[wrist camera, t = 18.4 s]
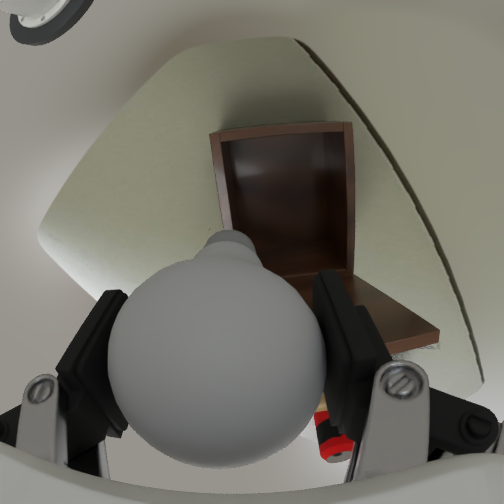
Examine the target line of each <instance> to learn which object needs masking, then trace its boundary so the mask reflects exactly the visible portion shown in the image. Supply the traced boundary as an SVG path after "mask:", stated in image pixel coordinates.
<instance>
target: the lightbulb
mask: <svg viewBox="0 0 504 504" xmlns="http://www.w3.org/2000/svg"><path fill="white" fill-rule="evenodd" d="M108 376H109V380H110V384H111V388H112V391H113V394H114V397H115V400H116V403H117V404H118V406H119V408H120V410H121V412H122V413H123V415H124V417H125V418H126V420H127V422H128V423H129V425H130V426H131V427H132V428H133V429H134V430H135V431H136V433H137V434H138V435H140V436H141V437H142V438H143V439H144V440H145V441H146V442H147V443H148V444H150V445H151V446H152V447H154V448H155V449H157V450H158V451H160V452H162V453H164V454H165V455H167V456H169V457H171V458H173V459H175V460H178V461H180V462H183V463H186V464H189V465H192V466H197V467H202V468H211V469H227V468H235V467H240V466H244V465H248V464H252V463H256V462H258V461H261V460H264V459H266V458H268V457H269V456H271V455H273V454H275V453H277V452H278V451H280V450H282V449H283V448H285V447H287V446H288V445H289V444H290V443H291V442H292V441H293V440H294V439H295V438H296V437H297V436H298V435H299V434H300V433H301V432H302V431H303V430H304V429H305V427H306V426H307V424H308V423H309V421H310V420H311V418H312V416H313V414H314V413H315V411H316V409H317V407H318V406H319V404H320V401H321V397H322V393H323V389H324V385H325V380H326V376H327V357H326V345H325V341H324V338H323V335H322V331H321V329H320V326H319V324H318V321H317V319H316V316H315V315H314V313H313V312H312V311H311V309H310V308H309V307H308V305H307V304H306V303H305V301H304V300H303V299H302V297H301V296H300V295H299V293H298V292H297V291H296V289H294V288H293V287H292V286H291V285H290V284H288V283H287V282H286V281H285V280H284V279H283V278H281V277H280V276H278V275H276V274H274V273H272V272H271V271H269V270H267V269H265V268H263V265H262V263H261V261H260V259H259V258H258V257H257V254H256V251H255V247H254V245H253V243H252V241H251V240H250V238H249V237H247V236H246V235H245V234H243V233H242V232H239V231H236V230H222V231H219V232H217V233H215V234H214V235H212V236H211V237H210V238H209V239H208V241H207V243H206V244H205V246H204V248H203V249H202V250H200V252H199V253H198V254H197V255H196V256H195V258H194V259H191V260H186V261H181V262H177V263H175V264H173V265H170V266H168V267H166V268H164V269H161V270H160V271H158V272H157V273H155V274H154V275H153V276H151V277H150V278H149V279H147V280H146V281H145V282H144V283H142V284H141V285H140V286H139V287H138V288H136V289H135V290H134V291H133V293H132V294H131V295H130V296H129V298H128V299H127V300H126V301H125V303H124V304H123V306H122V308H121V310H120V311H119V313H118V315H117V317H116V320H115V322H114V325H113V327H112V331H111V335H110V339H109V344H108Z"/></svg>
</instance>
